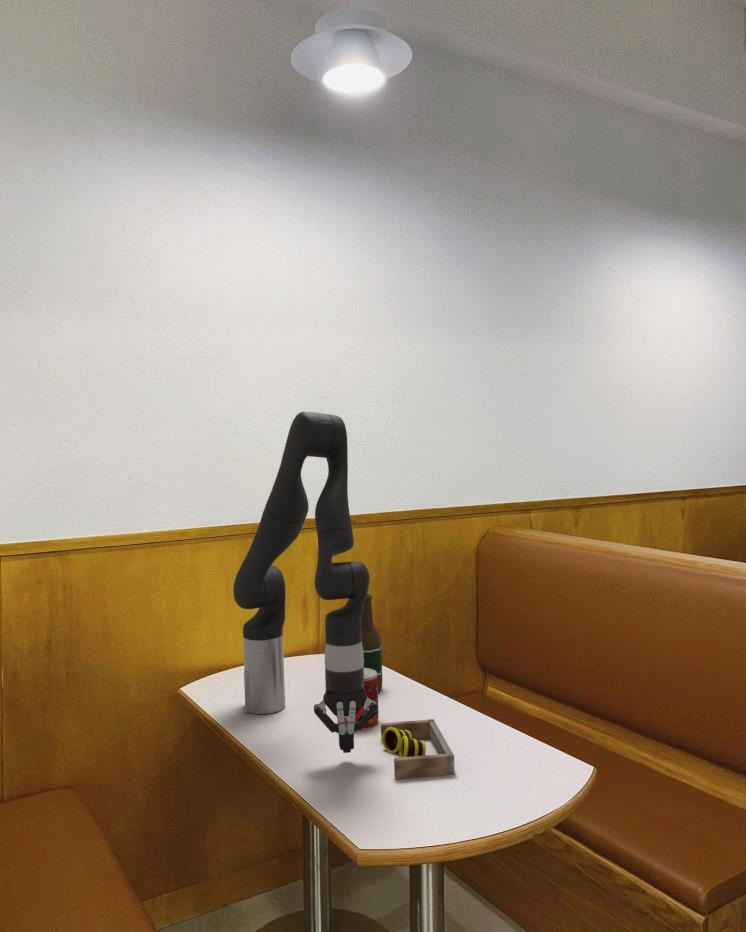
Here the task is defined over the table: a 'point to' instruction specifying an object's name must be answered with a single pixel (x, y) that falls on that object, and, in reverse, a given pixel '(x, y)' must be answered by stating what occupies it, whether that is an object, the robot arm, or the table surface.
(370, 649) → the beer bottle
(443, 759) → the walnut bay
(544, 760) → the table surface
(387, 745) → the opera glasses
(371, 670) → the canned food
